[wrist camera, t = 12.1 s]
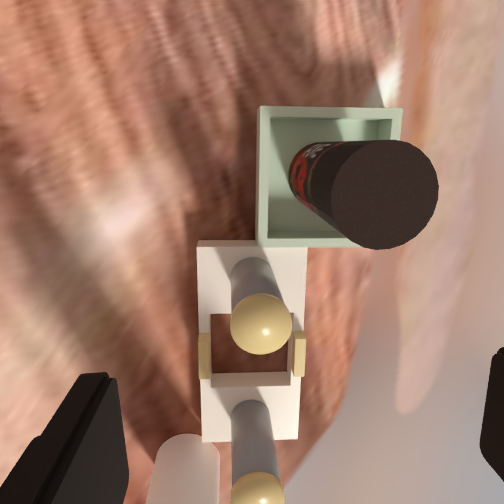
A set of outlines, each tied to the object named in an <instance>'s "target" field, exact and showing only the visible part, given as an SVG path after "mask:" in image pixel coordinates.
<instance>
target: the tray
mask: <svg viewBox="0 0 504 504" xmlns="http://www.w3.org/2000/svg"><path fill="white" fill-rule="evenodd" d="M402 113H403V108H359V107H305V106H260V107H259V108H258V109H257V136H256V208H255V239H256V243H257V246H258V248H277V247H362V246H360V245H358V244H356V243H354V242H352V241H350V240H349V239H348V238H346V237H345V236H344V235H342V234H341V233H340V232H339V231H337V230H336V229H335V228H333V227H332V226H331V225H329V224H328V223H327V222H326V221H324V220H323V219H322V218H320V217H319V216H318V215H317V214H315V213H314V212H313V211H311V210H310V209H309V208H308V207H306V206H305V205H304V204H302V203H301V202H300V201H299V200H298V199H297V198H296V197H295V196H294V194H293V193H292V191H291V189H290V186H289V183H288V171H289V166H290V163H291V161H292V160H293V158H294V156H295V155H296V154H297V153H298V152H299V150H301V149H302V148H304V147H305V146H307V145H309V144H312V143H315V142H336V141H366V140H398V141H400V132H401V124H402V115H403V114H402Z"/></svg>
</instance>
